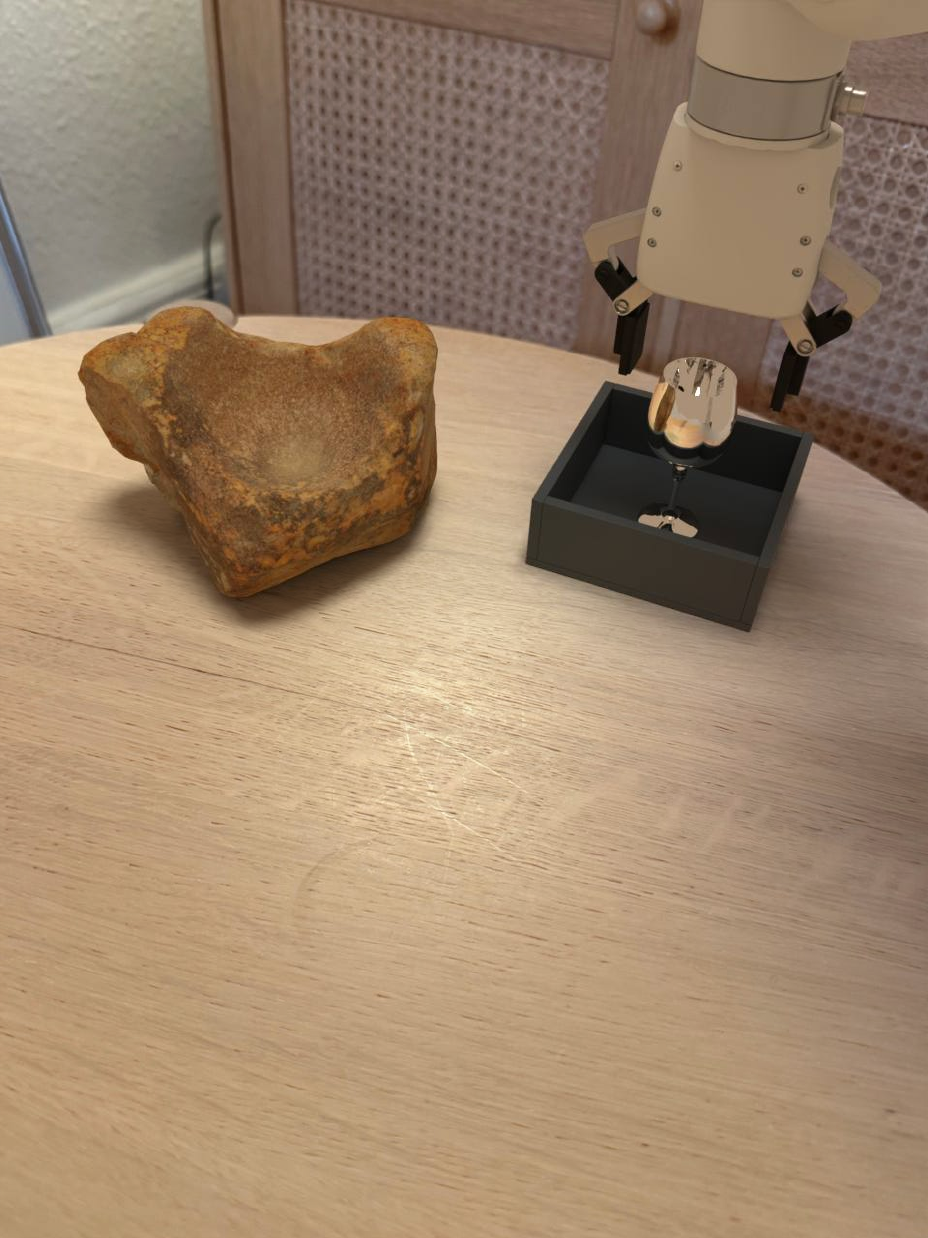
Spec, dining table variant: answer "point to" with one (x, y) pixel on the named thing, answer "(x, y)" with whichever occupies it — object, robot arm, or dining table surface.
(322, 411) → the rough brown rock
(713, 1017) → the dining table surface
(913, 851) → the dining table surface
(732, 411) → the wineglass
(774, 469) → the dish tub
